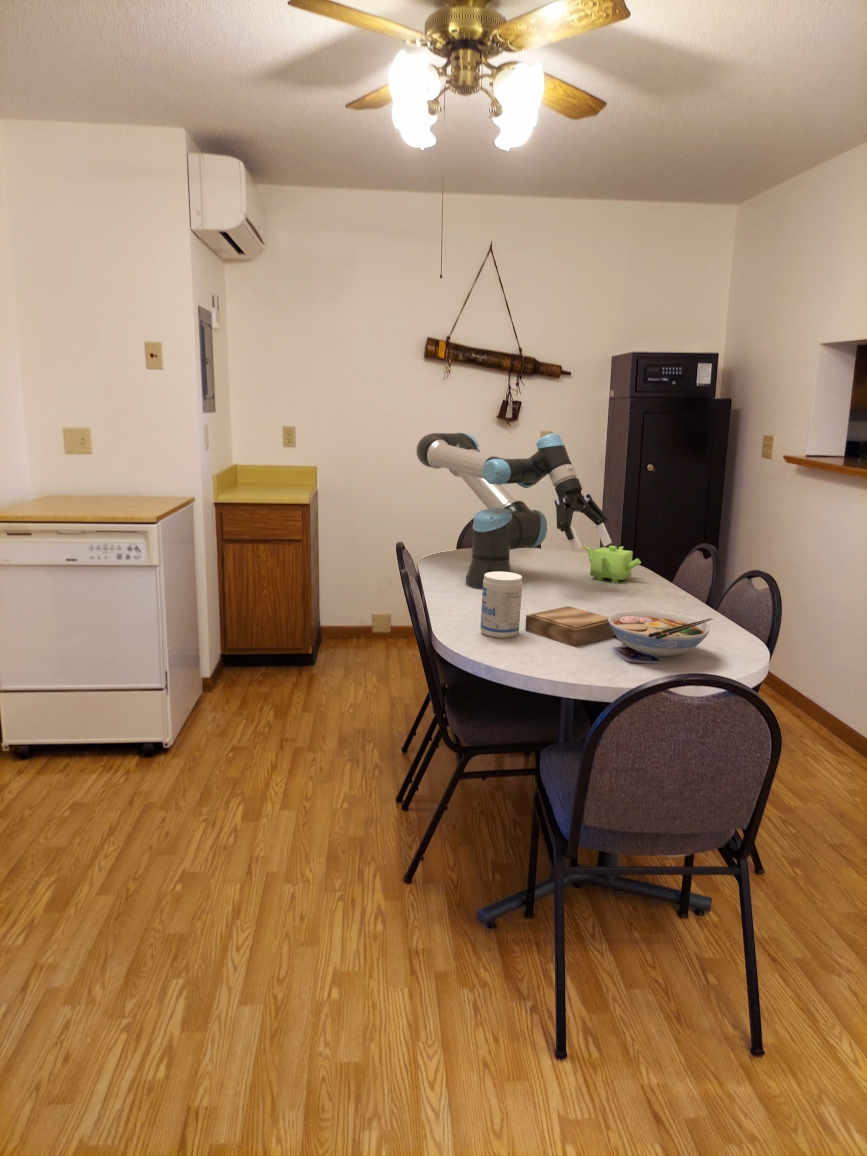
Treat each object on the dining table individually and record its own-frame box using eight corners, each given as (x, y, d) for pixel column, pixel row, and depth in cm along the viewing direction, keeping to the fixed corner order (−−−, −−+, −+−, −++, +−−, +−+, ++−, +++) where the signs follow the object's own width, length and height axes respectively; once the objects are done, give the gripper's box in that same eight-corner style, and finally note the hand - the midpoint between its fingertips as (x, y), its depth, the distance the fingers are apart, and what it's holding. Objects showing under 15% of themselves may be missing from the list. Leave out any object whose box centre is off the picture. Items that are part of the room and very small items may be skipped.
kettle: (580, 575, 261) (583, 542, 259) (619, 574, 264) (621, 542, 262) (599, 585, 247) (602, 550, 244) (640, 584, 250) (643, 550, 248)
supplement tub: (472, 632, 191) (474, 574, 188) (498, 625, 198) (500, 569, 194) (501, 641, 184) (504, 581, 181) (527, 634, 191) (530, 576, 188)
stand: (525, 630, 194) (526, 613, 193) (567, 620, 204) (568, 604, 203) (574, 646, 182) (576, 628, 181) (616, 635, 192) (618, 618, 191)
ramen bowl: (644, 632, 196) (647, 601, 194) (729, 655, 179) (733, 621, 177) (582, 650, 179) (584, 616, 178) (668, 677, 163) (672, 640, 161)
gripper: (545, 478, 220) (573, 545, 216) (601, 474, 236) (628, 537, 231) (528, 490, 226) (555, 556, 221) (584, 486, 242) (611, 547, 237)
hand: (593, 547), depth 226 cm, fingers open, 13 cm apart
